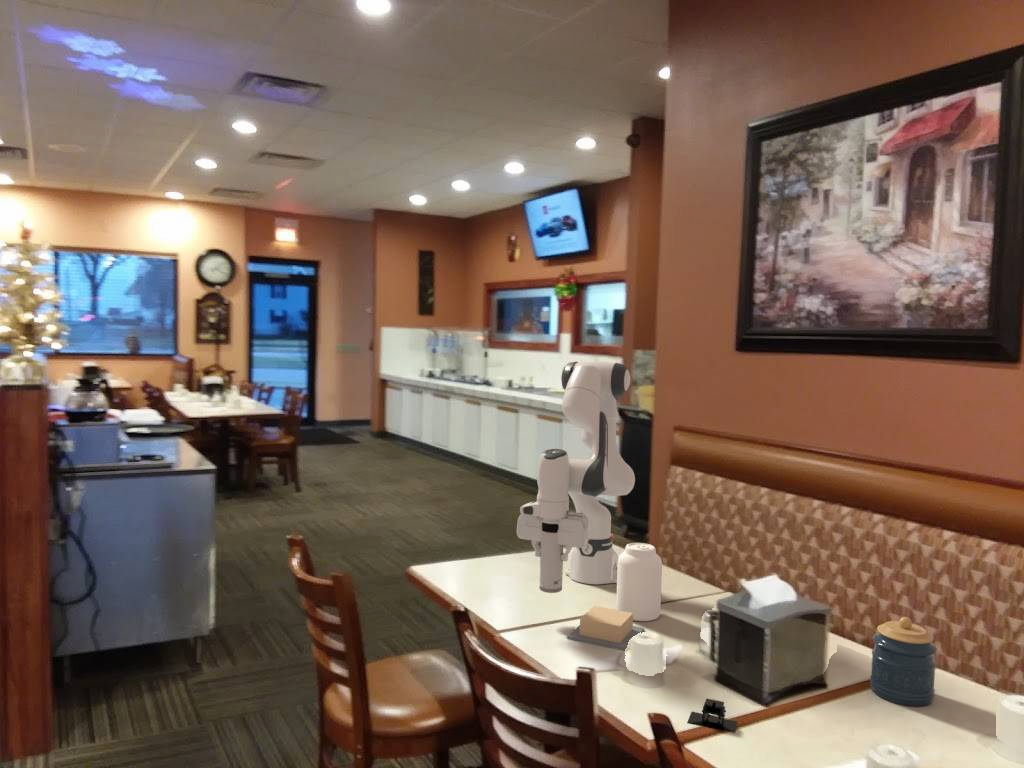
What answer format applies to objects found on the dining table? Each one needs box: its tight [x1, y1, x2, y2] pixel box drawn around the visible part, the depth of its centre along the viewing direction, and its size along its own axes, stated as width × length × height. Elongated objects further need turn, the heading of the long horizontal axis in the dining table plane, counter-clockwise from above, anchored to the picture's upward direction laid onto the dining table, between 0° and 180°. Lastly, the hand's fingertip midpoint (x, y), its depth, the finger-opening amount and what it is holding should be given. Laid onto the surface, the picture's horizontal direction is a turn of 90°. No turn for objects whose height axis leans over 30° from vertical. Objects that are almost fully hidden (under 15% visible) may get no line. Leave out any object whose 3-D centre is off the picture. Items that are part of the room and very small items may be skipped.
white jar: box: [615, 542, 663, 622], centre depth 219 cm, size 12×12×20 cm
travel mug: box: [539, 522, 564, 594], centre depth 211 cm, size 6×7×20 cm
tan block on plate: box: [566, 605, 645, 651], centre depth 203 cm, size 16×16×5 cm
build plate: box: [686, 698, 738, 734], centre depth 158 cm, size 12×7×5 cm, turn 68°
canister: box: [869, 616, 938, 707], centre depth 172 cm, size 13×13×18 cm
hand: (551, 558), depth 211 cm, fingers closed on travel mug, 6 cm apart
